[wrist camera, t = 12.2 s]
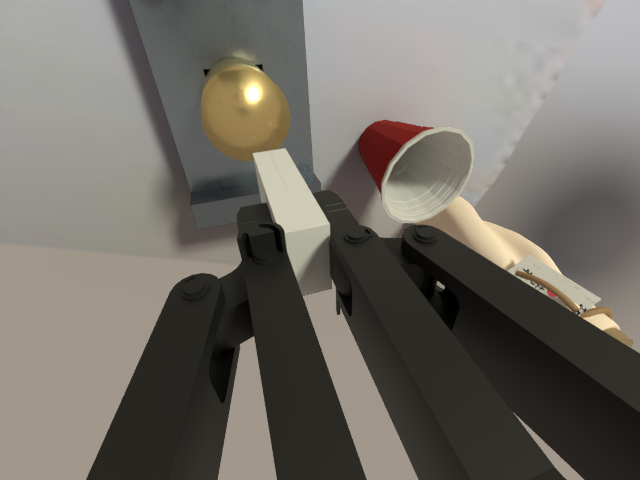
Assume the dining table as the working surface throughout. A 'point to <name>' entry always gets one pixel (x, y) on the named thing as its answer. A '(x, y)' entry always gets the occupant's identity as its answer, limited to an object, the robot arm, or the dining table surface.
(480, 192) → the dining table surface
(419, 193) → the plastic cup
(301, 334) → the robot arm
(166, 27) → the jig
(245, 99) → the golden knob
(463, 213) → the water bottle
